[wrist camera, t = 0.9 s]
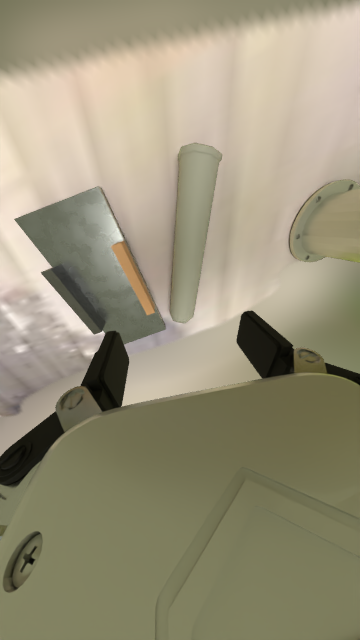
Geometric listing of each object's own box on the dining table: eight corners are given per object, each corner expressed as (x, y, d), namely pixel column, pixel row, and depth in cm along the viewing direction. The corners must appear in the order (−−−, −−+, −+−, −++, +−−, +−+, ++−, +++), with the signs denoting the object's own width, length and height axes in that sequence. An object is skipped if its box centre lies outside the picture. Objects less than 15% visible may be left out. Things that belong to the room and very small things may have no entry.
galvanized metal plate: (101, 188, 20) (90, 180, 16) (165, 325, 34) (167, 337, 30) (22, 219, 21) (-7, 218, 17) (117, 342, 34) (113, 356, 31)
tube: (197, 324, 31) (230, 154, 18) (175, 330, 29) (193, 137, 15) (185, 312, 35) (204, 165, 21) (164, 316, 32) (171, 153, 19)
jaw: (123, 240, 22) (120, 242, 20) (154, 305, 29) (154, 312, 27) (114, 243, 23) (110, 246, 20) (147, 308, 29) (147, 315, 27)
